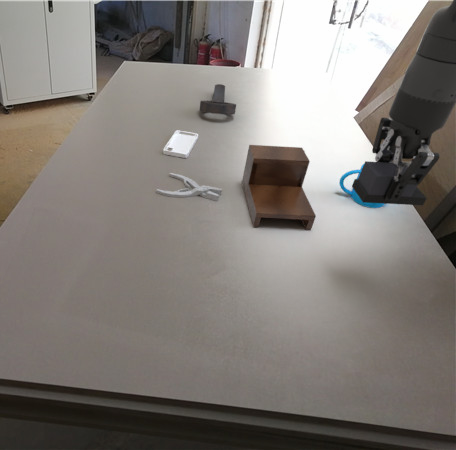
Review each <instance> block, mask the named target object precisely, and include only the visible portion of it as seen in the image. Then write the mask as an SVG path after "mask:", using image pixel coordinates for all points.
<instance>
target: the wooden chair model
mask: <svg viewBox="0 0 456 450" xmlns="http://www.w3.org/2000/svg"><path fill="white" fill-rule="evenodd" d="M310 162H311V161H310V159H309V157H308V156H307V154H306V152H305V150H304V147H296V146H279V145H278V146H277V145H262V144H261V145H260V144H249V145H248V149H247V155H246V160H245V163H244V164H245V165H244V169H243V175H242V179H241V187H242V189H243V193H244V194H243V195H244V197H245V201H246V205H247V208H248V213H249V216H250V219H251V220H250V221H251V224H252V228H259V227H260V223H261V219H262V218H263V219H264V218H265V219H283V220H301V223H302V225H303V227H304V230H305V229H306V230H305V231H312V228H313V226H314V222H315V219H316V213H315V211H314V208H313V207H312V205H311V203H310V201H309V198H308V197H307V195H306V192H305V191H304V189H303V184H304V181H305V178H306V175H307V171H308V168H309V165H310Z"/></svg>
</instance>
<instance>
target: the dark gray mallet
mask: <svg viewBox="0 0 456 450" xmlns="http://www.w3.org/2000/svg"><path fill="white" fill-rule="evenodd" d="M225 94H226V85H224V84H220V83H216V84H214V89H213V96H212V100H200V103H199V111H200V112H203V113H208V114H216V115H217V114H218V115H235V114H236V109H237V104H236V103H232V102H226V101H225V97H226V95H225Z"/></svg>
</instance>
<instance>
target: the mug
mask: <svg viewBox="0 0 456 450" xmlns="http://www.w3.org/2000/svg"><path fill="white" fill-rule="evenodd" d="M363 166H364V163H363V164H362V165H361V166H360V168H359V169H353V170H349V171H346V172H345V173H344V174H342V175H341V177H340V178H339V181H338V182H339V184H338V185H339V187H340V189H341V190H342V191H343V192H344V193H346V194H348V195H350V198H351V200H353V201H354V203H357V204H358V205H360V206H363V207H366V208H372V209H379V208H382V207H384V206H385V205H386V204H385V203H364V202H362V200H361V199H360V197H359V196H358V194H357V193H356V192H355V190H354V189H353V188H352V189H351V190H349V189H348V188H346V186H345V184H344V181H346V179H347V178H348V177H349V176H352V175H355V174H358V175H357V177H356V179H358V178H359V176H360V173H361V171H362V168H363Z"/></svg>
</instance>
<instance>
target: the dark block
mask: <svg viewBox="0 0 456 450" xmlns="http://www.w3.org/2000/svg"><path fill="white" fill-rule="evenodd" d="M363 164H364V166H363V168H362V171H361V173H360V176H359V178H358V179H357V178H355V179H354V180H353V183H352V185H351V187H352V189H354V190H355V192H356V193H357V194H358V196H359V197H360V199H361V200H362V202H364V203H385V204H384V205H386V204H389V205H408V206H424V204H425V203H426V201H427V199H428V198H427V196H426V195H425V194H424V193H423V192H422V191H421V190H420V189H419V187H418V185H407V186H406V187H405V189H404V191H403V193H402V195H401V197H400V199H399V200H398V201H396V202H392V201H385V199H384V194H385V192H386V190H387V188H388V186H389V184H390V181H391V179H393V174H394V170H395V166H394V165H393V162H389V163H387V162H377V161H364V163H363ZM406 169H407V167H404V168H403V169H402V173H401V174H404V172H405V171H406ZM415 175H416V174H414V177H415Z"/></svg>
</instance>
